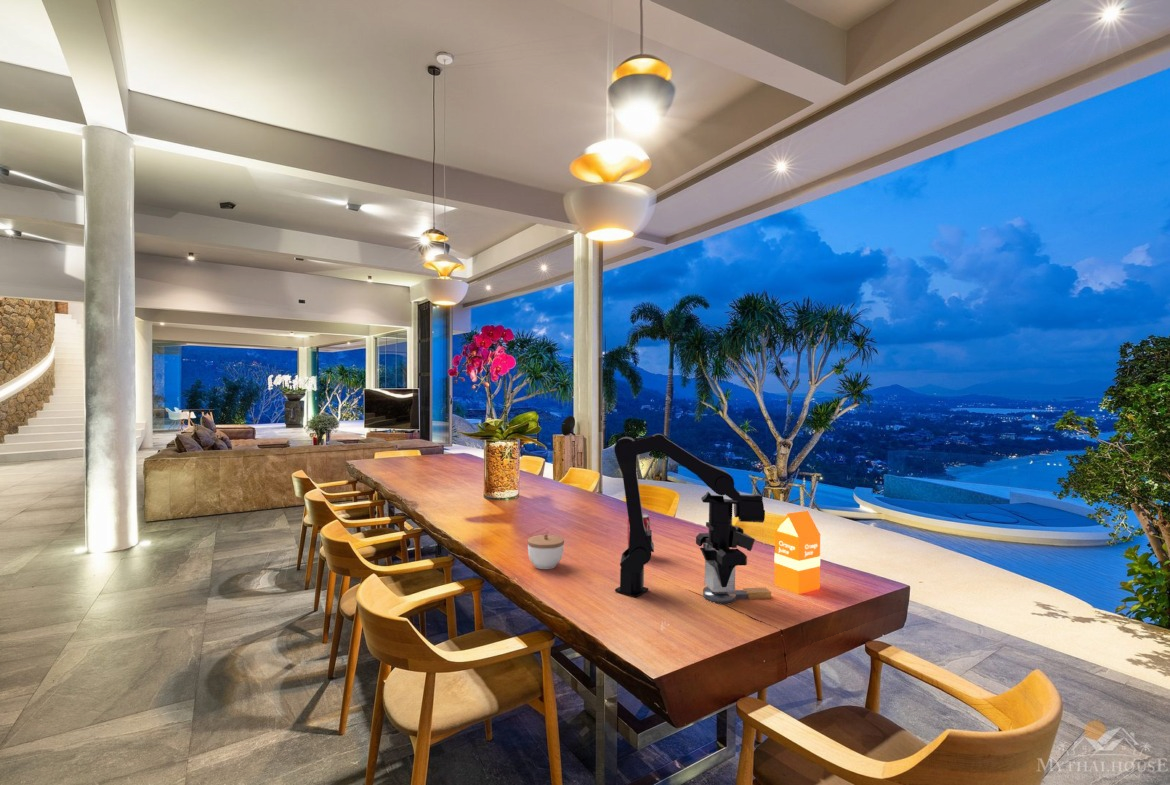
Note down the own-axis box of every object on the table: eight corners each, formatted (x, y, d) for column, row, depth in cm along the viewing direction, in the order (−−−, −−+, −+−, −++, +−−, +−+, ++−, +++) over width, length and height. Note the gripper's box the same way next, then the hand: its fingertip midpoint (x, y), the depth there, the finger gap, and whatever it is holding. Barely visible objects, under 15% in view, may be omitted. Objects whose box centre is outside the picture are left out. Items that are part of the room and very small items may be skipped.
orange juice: (820, 588, 133) (821, 513, 133) (798, 594, 129) (799, 516, 129) (795, 579, 140) (796, 507, 140) (773, 584, 135) (774, 510, 136)
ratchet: (710, 604, 121) (710, 586, 121) (698, 591, 129) (698, 574, 129) (776, 602, 123) (776, 584, 123) (760, 590, 131) (760, 572, 131)
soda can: (651, 560, 154) (651, 517, 154) (627, 559, 154) (628, 517, 154) (648, 553, 161) (649, 512, 161) (626, 552, 161) (627, 512, 162)
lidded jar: (525, 561, 151) (525, 529, 151) (560, 559, 153) (560, 528, 154) (529, 573, 141) (529, 539, 141) (566, 571, 143) (567, 538, 143)
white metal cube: (734, 591, 123) (735, 567, 123) (713, 592, 123) (713, 567, 123) (725, 583, 129) (726, 559, 129) (704, 583, 128) (705, 560, 128)
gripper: (768, 529, 118) (767, 596, 117) (735, 511, 136) (734, 569, 136) (723, 530, 116) (722, 597, 116) (695, 512, 135) (694, 570, 135)
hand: (719, 582), depth 126 cm, fingers closed on white metal cube, 6 cm apart
